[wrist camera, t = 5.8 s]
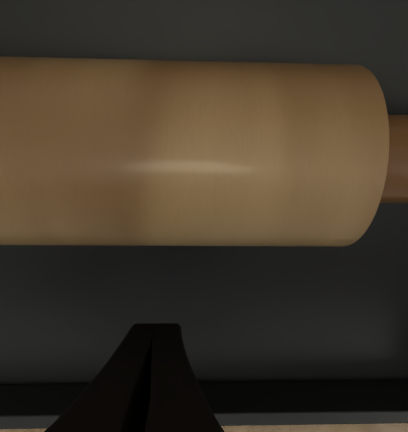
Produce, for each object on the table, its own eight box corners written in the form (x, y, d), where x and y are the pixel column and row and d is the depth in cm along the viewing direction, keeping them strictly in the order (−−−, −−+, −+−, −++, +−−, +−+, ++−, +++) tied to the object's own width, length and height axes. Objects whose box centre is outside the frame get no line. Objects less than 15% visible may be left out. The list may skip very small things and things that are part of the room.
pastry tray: (541, -53, 10) (617, -85, 8) (423, 383, 15) (455, 423, 13) (-259, -82, 9) (-369, -125, 7) (-106, 389, 14) (-149, 432, 12)
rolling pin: (458, 265, 11) (424, 136, 12) (630, 208, 6) (546, 23, 8) (-183, 263, 10) (-131, 127, 11) (-449, 199, 6) (-311, 0, 7)
